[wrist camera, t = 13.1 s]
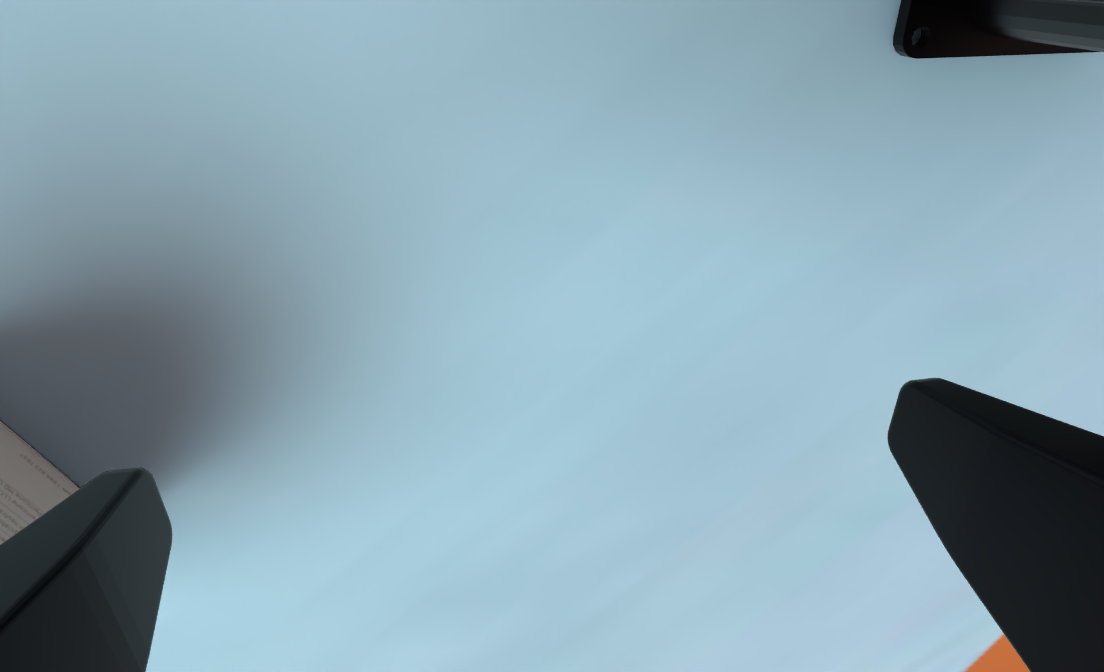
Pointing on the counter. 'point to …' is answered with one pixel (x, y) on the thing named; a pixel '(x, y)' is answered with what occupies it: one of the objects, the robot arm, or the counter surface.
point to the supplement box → (26, 484)
